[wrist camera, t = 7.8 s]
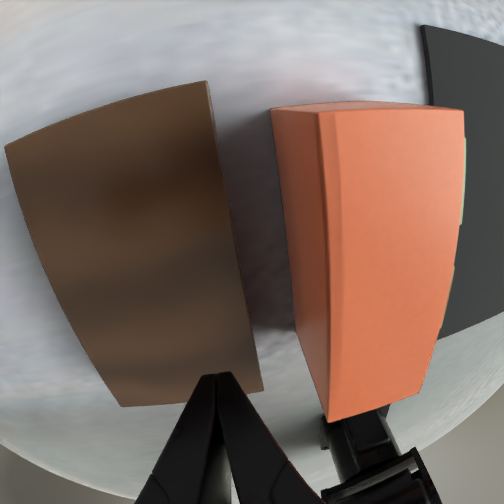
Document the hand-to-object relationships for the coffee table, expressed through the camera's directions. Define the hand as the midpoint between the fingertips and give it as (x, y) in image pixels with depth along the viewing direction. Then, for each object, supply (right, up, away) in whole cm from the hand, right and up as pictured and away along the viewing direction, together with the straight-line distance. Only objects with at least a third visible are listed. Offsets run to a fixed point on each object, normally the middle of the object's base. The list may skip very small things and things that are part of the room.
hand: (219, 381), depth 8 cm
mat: (+22, +8, +9) cm, 25 cm away
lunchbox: (+3, +3, +5) cm, 6 cm away
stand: (-4, +3, +8) cm, 9 cm away
